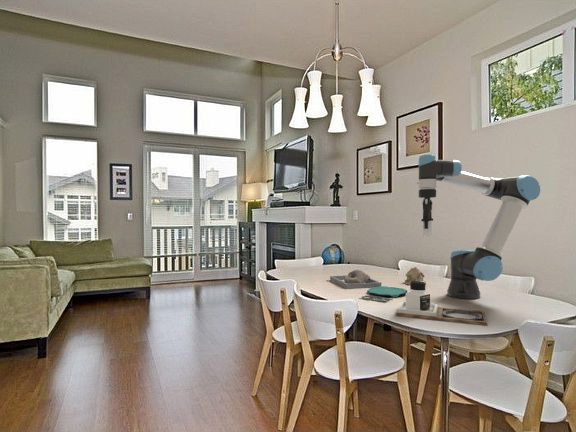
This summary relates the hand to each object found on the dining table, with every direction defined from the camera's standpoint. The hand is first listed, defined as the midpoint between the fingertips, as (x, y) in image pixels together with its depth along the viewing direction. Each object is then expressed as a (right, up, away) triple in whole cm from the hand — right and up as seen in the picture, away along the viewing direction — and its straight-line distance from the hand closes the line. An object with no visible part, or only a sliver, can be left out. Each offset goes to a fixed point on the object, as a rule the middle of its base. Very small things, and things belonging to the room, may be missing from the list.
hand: (427, 235), depth 172 cm
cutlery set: (-15, -32, +21) cm, 41 cm away
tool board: (-1, -32, -16) cm, 36 cm away
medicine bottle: (-9, -31, -13) cm, 35 cm away
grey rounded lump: (-24, -32, +50) cm, 64 cm away
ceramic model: (+12, -32, +51) cm, 61 cm away
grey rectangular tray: (-24, -31, +53) cm, 66 cm away
